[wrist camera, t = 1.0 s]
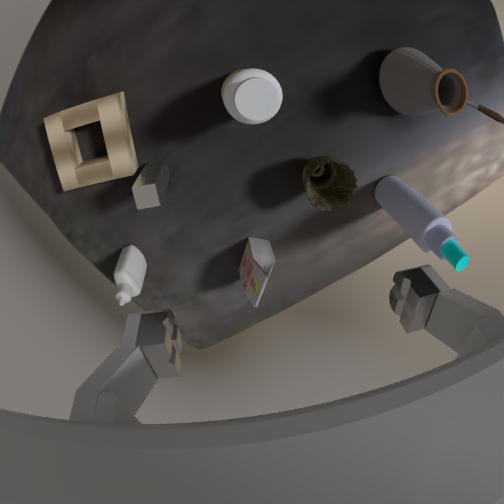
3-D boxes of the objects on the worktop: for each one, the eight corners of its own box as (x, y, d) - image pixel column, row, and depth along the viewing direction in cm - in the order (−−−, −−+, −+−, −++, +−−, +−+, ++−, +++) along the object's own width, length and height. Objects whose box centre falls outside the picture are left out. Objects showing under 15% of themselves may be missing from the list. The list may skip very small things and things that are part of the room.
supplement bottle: (269, 111, 40) (290, 129, 30) (223, 115, 40) (227, 134, 29) (267, 67, 36) (288, 67, 26) (219, 70, 36) (221, 71, 25)
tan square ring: (54, 113, 35) (43, 118, 32) (123, 91, 35) (116, 93, 33) (72, 182, 42) (63, 191, 39) (138, 167, 42) (133, 175, 40)
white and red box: (269, 240, 53) (280, 277, 45) (258, 270, 56) (266, 309, 48) (248, 236, 52) (256, 273, 44) (238, 268, 56) (244, 306, 47)
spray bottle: (368, 201, 51) (438, 280, 33) (381, 170, 47) (461, 240, 29) (393, 208, 52) (463, 283, 34) (406, 179, 49) (485, 248, 31)
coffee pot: (364, 102, 40) (421, 124, 28) (377, 37, 34) (438, 36, 22) (456, 134, 44) (511, 164, 32) (468, 80, 38) (528, 99, 25)
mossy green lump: (295, 193, 48) (309, 216, 42) (289, 150, 44) (303, 167, 37) (338, 184, 48) (358, 206, 42) (335, 142, 44) (356, 158, 37)
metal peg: (147, 162, 42) (131, 187, 34) (166, 158, 42) (155, 183, 34) (151, 180, 44) (137, 209, 36) (169, 176, 44) (160, 205, 36)
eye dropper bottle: (146, 244, 50) (133, 291, 41) (147, 270, 53) (136, 318, 44) (122, 242, 49) (105, 288, 40) (124, 268, 53) (110, 315, 43)
